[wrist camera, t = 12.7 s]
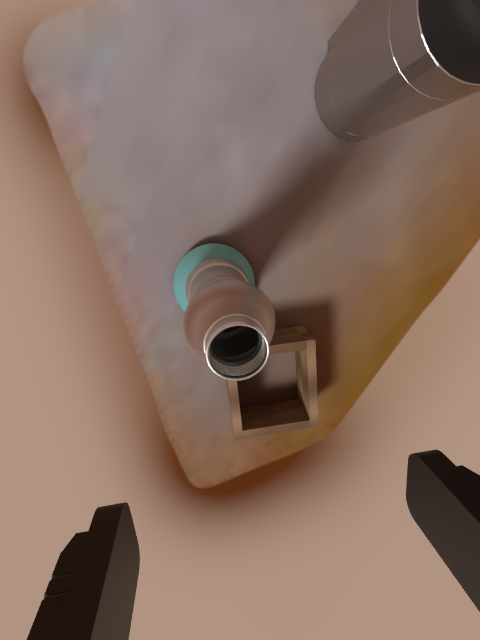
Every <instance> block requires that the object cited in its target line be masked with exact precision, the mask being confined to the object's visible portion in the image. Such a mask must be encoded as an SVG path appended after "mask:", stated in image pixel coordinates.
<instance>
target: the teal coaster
mask: <svg viewBox="0 0 480 640" xmlns="http://www.w3.org/2000/svg"><path fill="white" fill-rule="evenodd" d="M212 258H225V259H229V260H231V261H233V262H235V263H237V264H238V265H239V266H240V267H241V268H242V269H243V270H244V271H245V273H246V275H247V277H248V280H249V283H250V284H253V285H254V286H255V279H254V274H253V270H252V268H251V266H250V264H249V262H248V261H247V259H246V258H245V257H244V256H243V255H242V254H241V253H240V252H239V251H237V250H236V249H234V248H232V247H230V246H228V245H225V244H221V243H207V244H202V245H199V246H197V247H195V248H193V249H192V250H190V251H189V252H188V253H187V254H185V256H184V257H183V258H182V259H181V261H180V262H179V264H178V266H177V268H176V272H175V275H174V283H173V286H174V293H175V296H176V299H177V301H178V303H179V305H180V306H181V308H182V309H183V310H184V311H185V312H186V309H187V306H188V304H189V303H188V301H187V299H186V295H185V284H186V280H187V277H188V275H189V273H190V272H191V271H192V269H193V268H194V267H195V266H197V265H198V264H199V263H201V262H203V261H205V260H208V259H212Z"/></svg>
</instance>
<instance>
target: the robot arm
mask: <svg viewBox="0 0 480 640" xmlns="http://www.w3.org/2000/svg"><path fill="white" fill-rule="evenodd" d="M478 91H480V0H360V1H359V2H358V4H357V5H356V6H355V8H354V9H353V10H352V11H351V13H350V14H349V15H348V16H347V18H346V19H345V20H344V22H343V23H342V24H341V25H340V27H339V28H338V29H337V31H336V32H335V33H334V34H333V36H332V37H331V38H330V39H329V42H328V53H327V55H326V57H325V59H324V61H323V63H322V64H321V66H320V69H319V72H318V75H317V79H316V85H315V100H316V105H317V109H318V112H319V114H320V117H321V119H322V120H323V122H324V123H325V125H326V126H327V127H328V128H329V129H330V130H331V131H332V132H333V133H334V134H336V135H338V136H339V137H341V138H345V139H348V140H362V139H367V138H369V137H372V136H375V135H378V134H380V133H382V132H384V131H386V130H389V129H391V128H393V127H396V126H398V125H400V124H403V123H405V122H408V121H410V120H412V119H415V118H417V117H419V116H422V115H424V114H426V113H429V112H431V111H433V110H436V109H438V108H441V107H443V106H445V105H448V104H450V103H452V102H455V101H457V100H459V99H462V98H464V97H467V96H469V95H471V94H473V93H476V92H478ZM406 500H407V504H408V508H409V511H410V513H411V515H412V517H413V519H414V520H415V522H416V523H417V525H418V526H419V527H420V529H421V530H422V532H423V533H424V534H425V536H426V537H427V539H428V540H429V541H430V543H431V544H432V545H433V547H434V548H435V550H436V551H437V552H438V554H439V555H440V557H441V558H442V559H443V561H444V562H445V564H446V565H447V566H448V568H449V569H450V571H451V572H452V574H453V575H454V576H455V578H456V579H457V580H458V582H459V583H460V585H461V586H462V588H463V589H464V590H465V591H466V593H467V595H468V596H469V597H470V599H471V600H472V602H473V603H474V604H475V606H476V607H477V609H478V610H479V611H480V475H478V474H476V473H474V472H473V471H471V470H469V469H467V468H466V467H464V466H455V465H454V464H453V463H452V462H451V461H450V460H449V459H448V458H447V457H446V456H445V455H444V454H443V453H442V452H440V451H439V450H431V451H426V452H420V453H414V454H411V455H410V456H409V458H408V470H407V487H406ZM139 564H140V556H139V545H138V540H137V536H136V532H135V528H134V525H133V520H132V516H131V512H130V508H129V505H128V503H120V504H114V505H108V506H103V507H98V508H97V509H96V511H95V514H94V516H93V519H92V522H91V525H90V528H89V531H87V532H81V533H76V534H75V536H74V537H73V538H72V539H71V541H70V542H69V543H68V545H67V546H66V547H65V549H64V550H63V551H62V552H61V554H60V556H59V559H58V561H57V564H56V566H55V569H54V572H53V574H52V580H51V581H50V582H49V584H48V587H47V590H46V592H45V594H44V600H42V602H41V605H40V607H39V610H38V612H37V615H36V617H35V620H34V623H33V625H32V628H31V630H30V633H29V635H28V638H27V640H128V638H129V633H130V626H131V619H132V613H133V606H134V600H135V593H136V587H137V580H138V574H139Z"/></svg>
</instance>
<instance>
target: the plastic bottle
mask: <svg viewBox="0 0 480 640" xmlns="http://www.w3.org/2000/svg"><path fill="white" fill-rule="evenodd" d="M185 295H186V299H187V301H188V303H189V304H188V306H187V309H186V312H185V316H184V324H183V328H184V334H185V337H186V340H187V342H188V344H189V346H190V347H191V348H192V350H193V351H194V352H195V353H196V354H197V355H198V356H199V357H201V358H202V359H203V360H205V361H207V363H208V365H209V367H210V369H211V370H212V371H213V372H214V373H215V374H216V375H218V376H219V377H221V378H223V379H226V380H231V381H241V380H245V379H248V378H251V377H253V376H254V375H256V374H257V373H259V372H260V371H261V370H262V369H263V367H264V366H265V364H266V363H267V361H268V358H269V352H270V347H269V344H270V342H271V340H272V337H273V334H274V330H275V321H276V320H275V312H274V309H273V306H272V304H271V302H270V300H269V298H268V297H267V296H266V295H265V294H264V293H263V292H262V291H261V290H260V289H258V288H257V287H256V286H254V285H253V284H250V283H249V280H248V277H247V275H246V273H245V271H244V270H243V269H242V268H241V267H240V266H239V265H238V264H237V263H235V262H233V261H231V260H229V259H225V258H212V259H208V260H205V261H203V262H201V263H199V264H198V265H197V266H195V267H194V268H193V269H192V271H191V272H190V273H189V275H188V277H187V280H186V284H185Z"/></svg>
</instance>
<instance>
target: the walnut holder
mask: <svg viewBox="0 0 480 640" xmlns="http://www.w3.org/2000/svg"><path fill="white" fill-rule="evenodd" d="M269 347H270V352H269V355H270V354H277V353H284V352H291V351H295V354H296V372H297V390H298V399H292V400H286V401H279V402H273V403H266V404H260V405H253V406H247V407H241V408H240V405H239V396H238V387H237V381H231V380H226V383H227V392H228V400H229V408H230V416H231V422H232V427H233V433H234V438H235V440H236V439H242V438H249V437H255V436H261V435H267V434H273V433H279V432H285V431H292V430H298V429H304V428H310V427H316V426H318V398H317V370H316V341H315V338H314V337H313V336H312V335H311V334H310V333H309V332H308V331H307V330H306V329H305V328H304V327H303V326H302V325H301V326H293V327H286V328H279V329H275V330H274V334H273V337H272V340H271V342H270V344H269Z"/></svg>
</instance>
